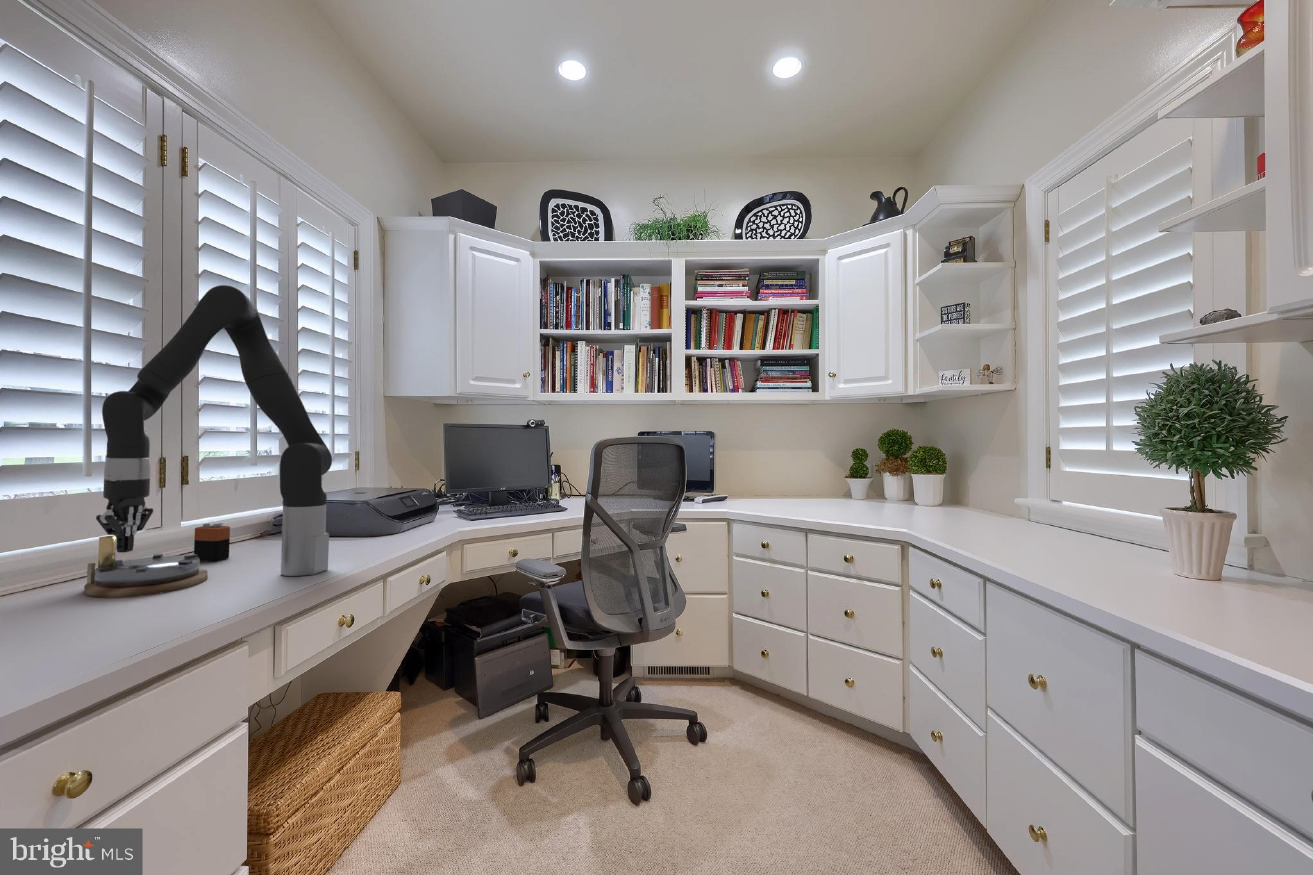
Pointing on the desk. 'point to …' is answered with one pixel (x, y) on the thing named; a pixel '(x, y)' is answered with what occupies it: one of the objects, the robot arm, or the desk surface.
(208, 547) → the battery
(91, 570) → the base plate
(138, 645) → the desk surface
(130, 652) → the desk surface
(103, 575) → the studded grey disc
